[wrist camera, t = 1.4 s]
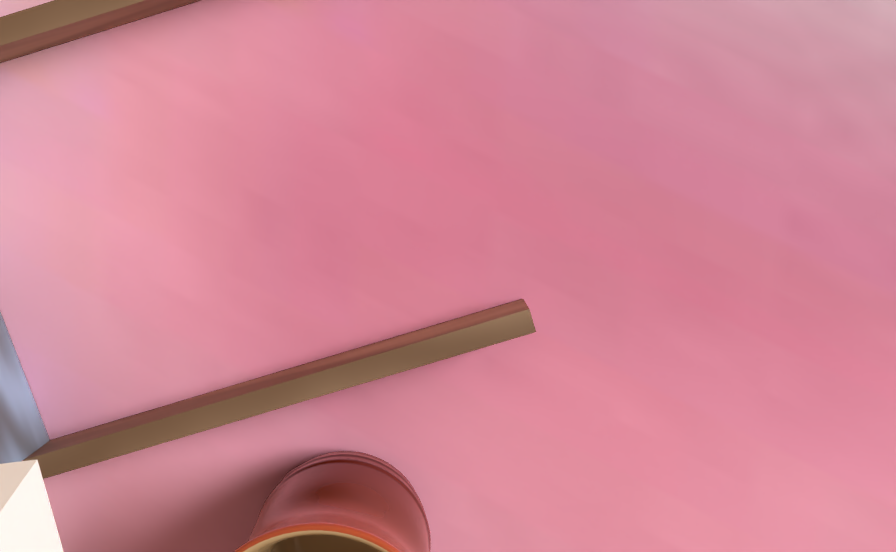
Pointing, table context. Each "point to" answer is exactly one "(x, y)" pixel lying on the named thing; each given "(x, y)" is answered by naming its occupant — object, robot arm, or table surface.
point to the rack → (25, 438)
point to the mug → (341, 509)
